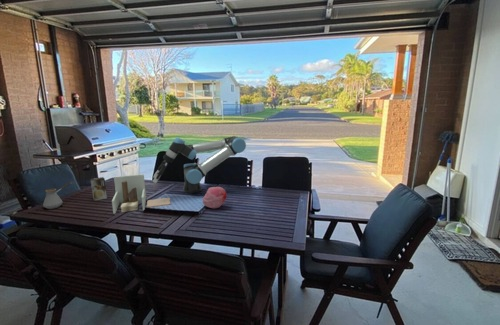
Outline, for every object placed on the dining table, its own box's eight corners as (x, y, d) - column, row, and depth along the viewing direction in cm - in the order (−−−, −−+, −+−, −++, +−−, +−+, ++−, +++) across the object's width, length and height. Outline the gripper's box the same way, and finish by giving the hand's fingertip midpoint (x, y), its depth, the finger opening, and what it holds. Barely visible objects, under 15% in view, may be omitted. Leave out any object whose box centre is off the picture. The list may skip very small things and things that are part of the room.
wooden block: (134, 208, 189) (132, 183, 186) (122, 206, 193) (120, 182, 189) (138, 206, 193) (136, 181, 189) (126, 204, 196) (124, 180, 193)
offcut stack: (138, 205, 192) (138, 201, 191) (138, 209, 185) (137, 204, 184) (122, 208, 188) (121, 203, 187) (120, 212, 181) (120, 207, 181)
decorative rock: (233, 197, 192) (222, 179, 193) (229, 201, 178) (216, 182, 179) (212, 210, 196) (201, 193, 196) (206, 216, 182) (194, 197, 182)
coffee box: (106, 196, 215) (103, 176, 212) (107, 198, 210) (105, 178, 207) (93, 198, 210) (90, 178, 207) (94, 200, 205) (91, 180, 202)
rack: (146, 199, 206) (143, 174, 202) (145, 209, 186) (142, 181, 182) (117, 203, 200) (114, 176, 196) (112, 213, 179) (109, 184, 175)
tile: (169, 198, 208) (169, 197, 207) (170, 204, 195) (170, 203, 194) (147, 201, 203) (147, 200, 202) (146, 207, 190) (146, 206, 189)
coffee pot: (50, 211, 186) (47, 190, 183) (39, 208, 190) (36, 188, 187) (79, 201, 205) (76, 181, 202) (69, 199, 210) (66, 180, 207)
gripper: (164, 151, 213) (150, 173, 213) (165, 156, 190) (149, 181, 190) (173, 156, 216) (158, 178, 216) (175, 161, 193) (159, 186, 193)
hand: (154, 180), depth 203 cm, fingers open, 13 cm apart
